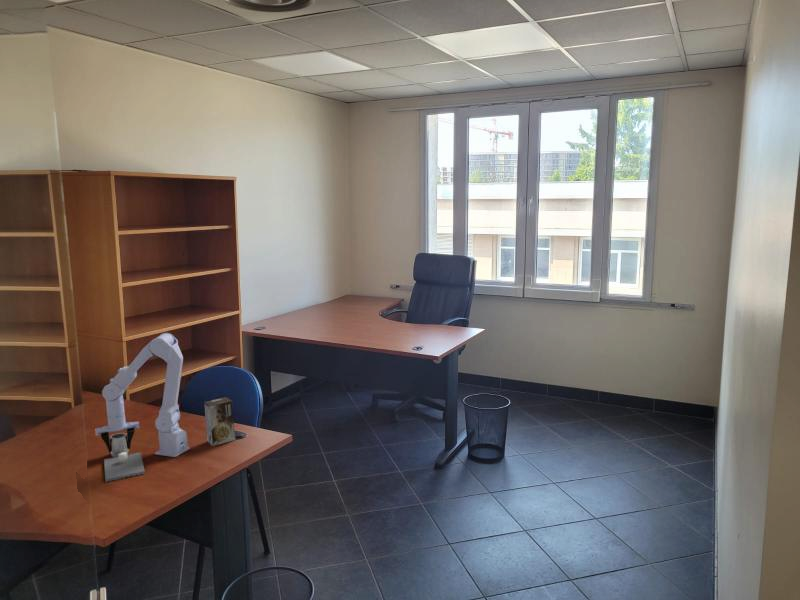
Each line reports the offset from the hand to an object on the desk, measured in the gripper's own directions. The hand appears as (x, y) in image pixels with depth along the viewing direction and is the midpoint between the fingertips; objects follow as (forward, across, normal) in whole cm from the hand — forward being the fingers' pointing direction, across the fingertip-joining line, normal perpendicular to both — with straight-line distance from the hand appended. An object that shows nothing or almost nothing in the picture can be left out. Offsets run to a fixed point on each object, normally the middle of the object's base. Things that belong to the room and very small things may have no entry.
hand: (119, 449), depth 215 cm
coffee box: (+2, -35, +7) cm, 36 cm away
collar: (+2, 0, 0) cm, 2 cm away
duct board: (+2, -1, +14) cm, 14 cm away
